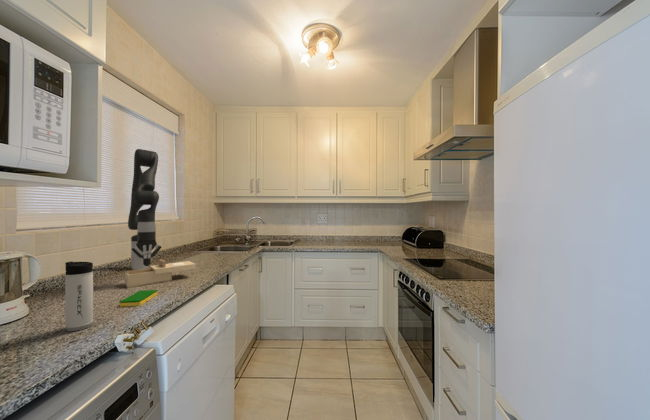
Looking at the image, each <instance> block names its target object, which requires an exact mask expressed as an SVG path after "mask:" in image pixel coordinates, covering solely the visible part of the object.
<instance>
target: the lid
mask: <svg viewBox="0 0 650 420" xmlns="http://www.w3.org/2000/svg"><path fill="white" fill-rule="evenodd" d="M149 268H152V269H153V270H154V271H155V274H160V273H167V272H173V273H174V272H181V271H187V270H194V269H196V268H197V267H196V263H194V262H192V261H189V260H187V261H179V262H170V263H166V260H164V259H161V258H160V259H158V264H156V265H149Z"/></svg>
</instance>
